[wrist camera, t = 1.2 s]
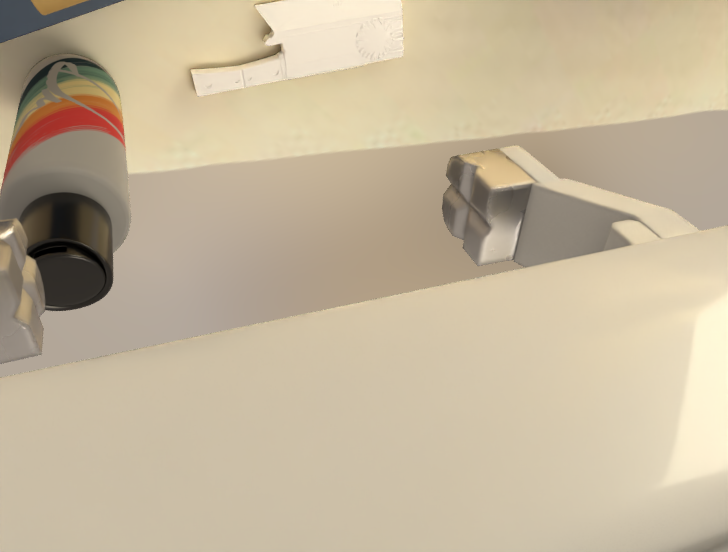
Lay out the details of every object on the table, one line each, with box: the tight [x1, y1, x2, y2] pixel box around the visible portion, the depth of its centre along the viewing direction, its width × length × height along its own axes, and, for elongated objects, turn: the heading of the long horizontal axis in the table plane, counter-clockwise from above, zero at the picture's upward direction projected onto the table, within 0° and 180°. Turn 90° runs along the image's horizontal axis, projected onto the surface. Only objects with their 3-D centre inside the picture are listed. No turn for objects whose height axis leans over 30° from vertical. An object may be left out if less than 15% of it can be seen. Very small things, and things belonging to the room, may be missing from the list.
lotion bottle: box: [0, 54, 131, 311], centre depth 32 cm, size 6×6×20 cm
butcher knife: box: [190, 0, 404, 97], centre depth 41 cm, size 5×15×1 cm, turn 93°
